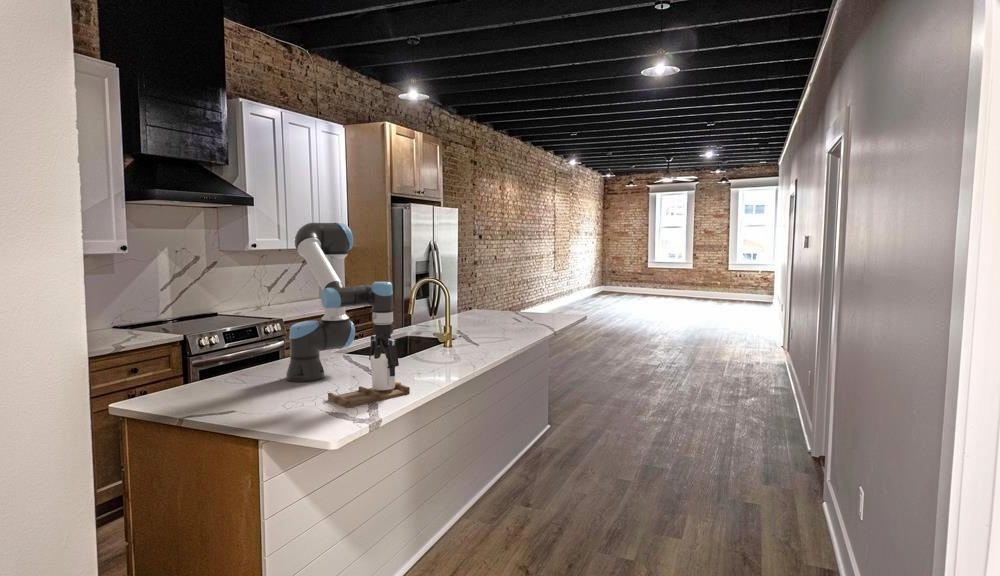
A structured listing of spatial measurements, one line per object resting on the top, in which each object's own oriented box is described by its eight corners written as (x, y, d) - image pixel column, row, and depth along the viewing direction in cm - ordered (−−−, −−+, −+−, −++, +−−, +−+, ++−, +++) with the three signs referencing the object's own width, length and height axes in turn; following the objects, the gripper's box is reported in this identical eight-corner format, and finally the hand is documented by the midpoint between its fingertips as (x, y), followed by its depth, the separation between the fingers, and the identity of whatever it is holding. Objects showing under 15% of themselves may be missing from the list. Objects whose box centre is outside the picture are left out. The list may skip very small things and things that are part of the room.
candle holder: (398, 389, 211) (398, 358, 210) (372, 392, 208) (371, 359, 207) (395, 383, 220) (394, 352, 219) (369, 385, 217) (368, 354, 216)
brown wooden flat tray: (328, 399, 206) (327, 391, 206) (390, 386, 225) (390, 378, 224) (347, 408, 196) (347, 399, 196) (411, 393, 215) (411, 385, 214)
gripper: (358, 321, 217) (360, 378, 219) (390, 327, 202) (391, 389, 204) (375, 319, 222) (376, 375, 224) (408, 325, 207) (409, 385, 209)
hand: (383, 382), depth 214 cm, fingers closed on candle holder, 9 cm apart
